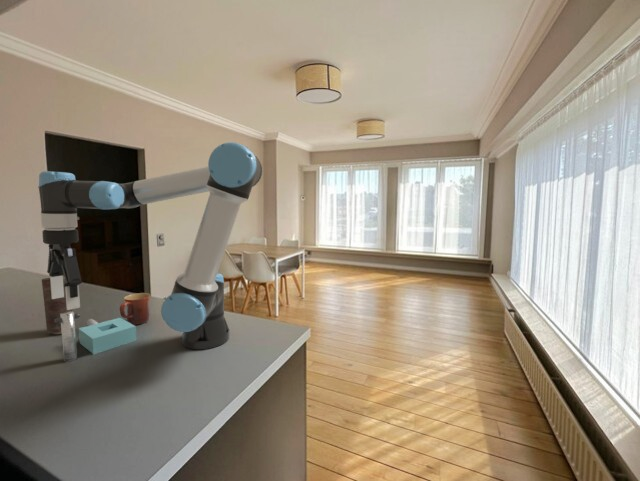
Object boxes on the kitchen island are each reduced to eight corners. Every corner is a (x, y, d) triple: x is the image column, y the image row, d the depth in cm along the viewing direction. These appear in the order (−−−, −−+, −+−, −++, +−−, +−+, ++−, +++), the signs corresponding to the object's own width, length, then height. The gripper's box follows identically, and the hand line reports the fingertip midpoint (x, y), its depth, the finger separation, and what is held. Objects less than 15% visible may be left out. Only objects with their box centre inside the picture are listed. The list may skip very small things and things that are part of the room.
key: (80, 353, 91) (77, 309, 89) (84, 356, 89) (81, 311, 87) (56, 361, 86) (52, 314, 84) (59, 365, 84) (55, 317, 82)
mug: (137, 316, 120) (136, 292, 119) (156, 319, 118) (155, 294, 117) (111, 328, 108) (110, 301, 107) (132, 331, 107) (130, 303, 106)
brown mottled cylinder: (43, 338, 100) (37, 279, 98) (50, 329, 106) (45, 274, 104) (72, 334, 103) (67, 277, 101) (77, 326, 110) (73, 272, 108)
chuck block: (136, 340, 100) (135, 326, 99) (93, 354, 90) (92, 338, 90) (109, 323, 113) (108, 311, 112) (69, 334, 103) (68, 320, 102)
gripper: (93, 231, 79) (97, 309, 81) (63, 225, 93) (67, 291, 95) (57, 233, 73) (62, 317, 75) (30, 225, 87) (35, 296, 89)
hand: (65, 303), depth 85 cm, fingers open, 13 cm apart
